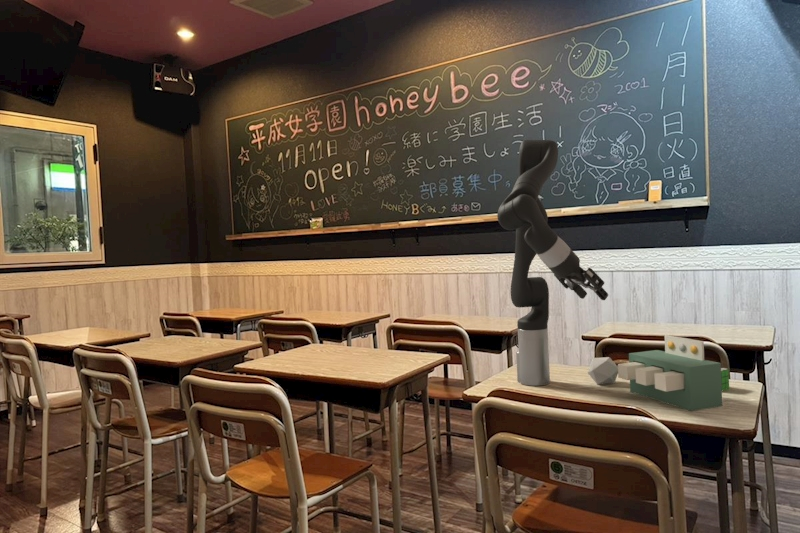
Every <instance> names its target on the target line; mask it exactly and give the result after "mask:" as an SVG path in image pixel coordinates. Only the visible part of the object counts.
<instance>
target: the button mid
mask: <svg viewBox="0 0 800 533" xmlns="http://www.w3.org/2000/svg"><path fill="white" fill-rule="evenodd" d="M663 372H664V369H663V368H659V367H655V366H651V367H644V368H636V369H635V373H636V383H639V384H642V385H645V386H647V385H654V384H655V376H654V374H655V373H663Z"/></svg>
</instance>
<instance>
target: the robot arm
mask: <svg viewBox="0 0 800 533" xmlns="http://www.w3.org/2000/svg"><path fill="white" fill-rule="evenodd" d="M518 149H519V151H518V178H517V179H516V181H515V184H514V185H513V188H512V190H511V192H510V194H508V195H507V197H505V199H504V200H503V201H502V203H501V204H500V206H499V207H498V210H497V214H496V216H497V221H498V223H499V225H500V226H501V227H502V228H503V229H504V230H506V231H515V247H514V248H515V249H514V262H513V269H512V275H511V283H510V299H511V302H512V305H513V306H514V307H516V308H530V311H529V312H528V313H527V314H525V315H524V316H522V317H520V318H519V319H517V323H516V324H517V341H518V342H517V343H518V351H517V352H515V353H516V355H515V357H516V375H517V376H516V377H517V378H516V379H517V382H518V383H520V384H521V385H525V386H531V387H532V386H535V387H536V386H545V385H549V384H550V383H551V378H550V353H549V352H550V351H549V332H548V331H549V330H548V323H549V319H550V317H549V316H550V308H549V306H550V291H549V285H548V282H547V281H546V279H545V278H544V277H542V276H531V277H529V270H530V267H531V265H532V262H533V260H534V259H535V257H536V256H537V257H538V258H539V259H540V261H542V262H543V263H544V265H545V266H546V267H547V268H548V269H549V270H550V271H551V273H553V276H554V277H555V278H556V279H557V280H558V281H559V283H560V284H561V285H562V286H563V288H565V289H566V290H568V289H569V290H570V291H573V292H574V293H575V294H576V295H577V296H578V297H579V298H580V299H582V300H583V299H585V297H587V295H588V293H587V291H586V290H585V289H590V290H591V291H593V292H594V293H595V294H596V295H597V297H598V298H599V299H600V300H601V301H605V300H607V298H608V297H609V293H608V292H607V291H606V290H605V289H604V288H603V286H604V285H605V281H604V280H603V279H602V278H601V277H600V276H599V275H598V274H597V273H596V271H595V270H594V269H592V268H591V267H588V268H587V269H586V270H585V269H584V268H582V267H581V265H580V263H581V262H580V261H581V260H580V258H579V256H578V255H577V254H576V253H575V252H574V251H573V250H572V249H571V247H569V245H568V244H567V243H566V242H565V241H564V240H563V239H562V238H560V237H559V236H558V235H557V233H556V232H555V231H554V230H553V229H552V228H551V227H550V226H549V225H548V221H549V220H548V219H549V218H548V213H547V211H546V208H545V206H544V205H543V203H542V200H540V198H539V196H540V193H541V191H542V190H541V189H542V188H543V186H544V184H545V183H546V182H547V180H548V179H549V178H550V177H551V175H552V173H553V172H554V171H555V169H556V167H557V164H558V159H559V147H558V144H557V142H556V141H555V140H551V139H524V140H522V141H521V143H520V146H519V148H518ZM584 288H585V289H584Z"/></svg>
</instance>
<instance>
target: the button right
mask: <svg viewBox="0 0 800 533" xmlns="http://www.w3.org/2000/svg"><path fill="white" fill-rule="evenodd" d="M654 376H655V389H659V390H662V391H666V392H667V391H674V390H680V389H685V377H684V374H683V373H679V372H675V371H670V372H663V373H655V374H654Z"/></svg>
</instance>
